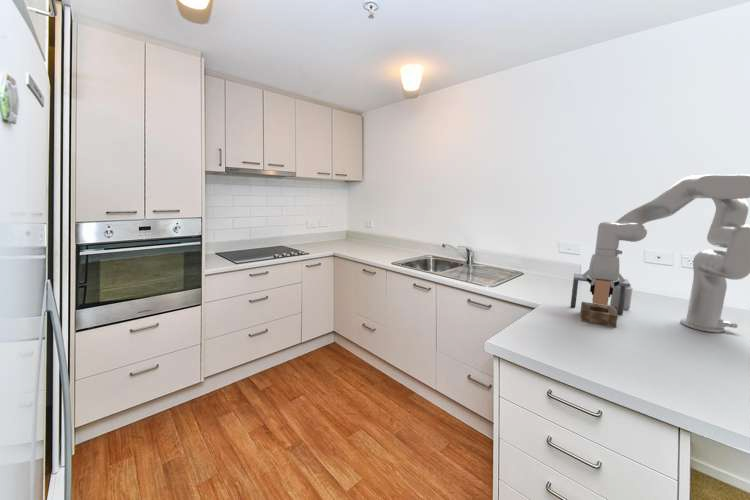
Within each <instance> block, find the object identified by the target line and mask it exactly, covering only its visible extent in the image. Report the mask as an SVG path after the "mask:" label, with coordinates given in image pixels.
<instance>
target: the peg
mask: <svg viewBox="0 0 750 500" xmlns="http://www.w3.org/2000/svg"><path fill="white" fill-rule="evenodd" d="M610 283H611V281H609V280H600V279H596V281H595V283H594V284H595V289H594V295H592V303H594V304H601V305H608V306H609V304H608V303H609V298H610V297H609V290H610Z"/></svg>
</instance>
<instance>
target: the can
mask: <svg viewBox="0 0 750 500" xmlns="http://www.w3.org/2000/svg"><path fill="white" fill-rule="evenodd" d="M620 288H621V286H620V285H617V286H615V287H614V288H613V294H612V295H610V302H609V306H614V307H615V310H618V303H619V296H620ZM633 289H634V288H633V287H632V284H631V283H630V287H628V286H627V287H626V294H625V301H624V308H623V311H626V310H629V309H630V308H631V303H632V297H633V296H632V294H633Z"/></svg>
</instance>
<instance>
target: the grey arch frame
mask: <svg viewBox="0 0 750 500" xmlns="http://www.w3.org/2000/svg"><path fill="white" fill-rule="evenodd" d="M583 274H584V273H576V272H575V273H573V280H572V289H571V290H572V292H571V300H570V305H569V306H570V308H571V309H575V308H576V306H577V297H578V296H577V295H578V288H579V281H581V282H587V283H589V282H588V281H587V280H586V279H584V278H583V277H582V275H583ZM587 277H588V278H590V277H589V274H588V275H587ZM590 279H591V280H592V278H590ZM618 280H619V278H618ZM618 280H616V281H618ZM624 280H625V282H623V283H620V284H619V285H620V286H621V288H620V296H619V303H618V309H616V312H617V315H618V316H623V315H624V310H623V308H624V301H625V294H626V287H627V286H628V287H630V284H631V283H630V281H629V280H628V279H627V278H624ZM616 281H613V282H616Z"/></svg>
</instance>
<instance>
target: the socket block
mask: <svg viewBox="0 0 750 500" xmlns="http://www.w3.org/2000/svg"><path fill="white" fill-rule="evenodd" d="M618 317H619V315H618V314H617V309H615V307H614V306H611V305H609V304H608V305H602V304H595V303H593V302H586V301H581V304H580V322H582V323H586V324H587V323H588V324H594V325H600V326H604V327H611V328H617V323H618Z"/></svg>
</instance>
